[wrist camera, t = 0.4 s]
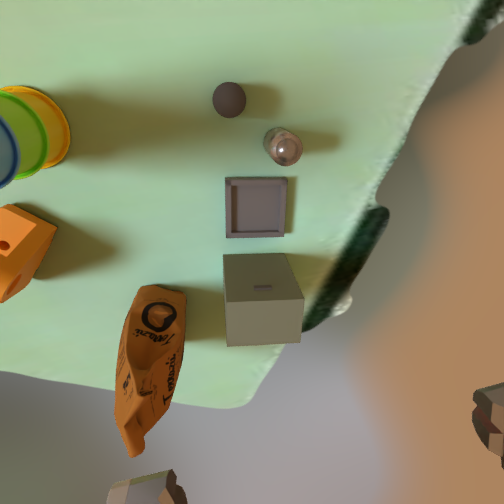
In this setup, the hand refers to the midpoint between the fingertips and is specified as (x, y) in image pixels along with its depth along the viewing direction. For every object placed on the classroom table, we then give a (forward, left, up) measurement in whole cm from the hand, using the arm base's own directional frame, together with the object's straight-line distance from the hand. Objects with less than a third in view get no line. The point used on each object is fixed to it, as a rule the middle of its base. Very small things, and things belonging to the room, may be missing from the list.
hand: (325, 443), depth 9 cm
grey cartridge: (-2, +6, -45) cm, 45 cm away
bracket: (+13, -32, -45) cm, 56 cm away
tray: (+8, +3, -45) cm, 46 cm away
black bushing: (-7, -1, -45) cm, 45 cm away
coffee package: (+27, -13, -45) cm, 54 cm away
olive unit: (+19, +3, -45) cm, 49 cm away
